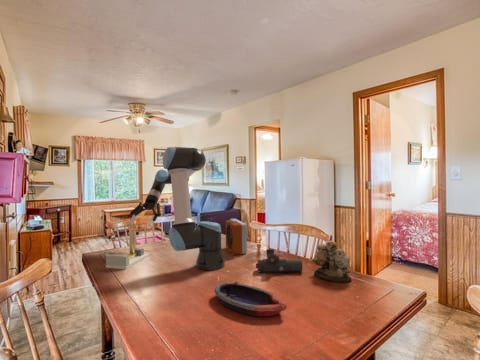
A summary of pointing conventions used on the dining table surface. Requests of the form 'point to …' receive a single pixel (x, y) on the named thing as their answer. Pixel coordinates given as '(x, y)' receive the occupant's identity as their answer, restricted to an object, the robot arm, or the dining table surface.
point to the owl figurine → (332, 263)
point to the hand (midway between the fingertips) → (140, 224)
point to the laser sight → (278, 264)
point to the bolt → (132, 242)
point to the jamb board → (131, 262)
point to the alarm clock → (236, 236)
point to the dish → (249, 299)
